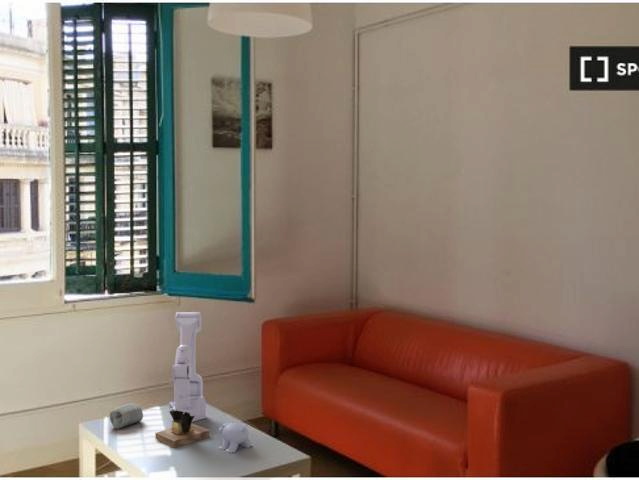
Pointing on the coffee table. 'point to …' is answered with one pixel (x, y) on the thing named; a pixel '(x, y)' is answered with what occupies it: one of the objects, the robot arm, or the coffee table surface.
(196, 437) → the slot board
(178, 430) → the key peg
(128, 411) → the grey cylinder
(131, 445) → the coffee table surface
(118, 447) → the coffee table surface
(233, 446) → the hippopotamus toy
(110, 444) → the coffee table surface
